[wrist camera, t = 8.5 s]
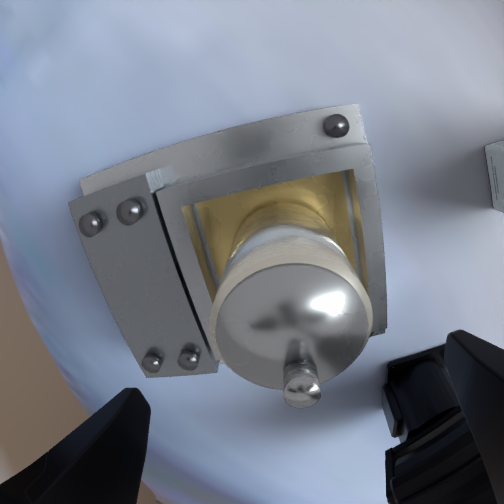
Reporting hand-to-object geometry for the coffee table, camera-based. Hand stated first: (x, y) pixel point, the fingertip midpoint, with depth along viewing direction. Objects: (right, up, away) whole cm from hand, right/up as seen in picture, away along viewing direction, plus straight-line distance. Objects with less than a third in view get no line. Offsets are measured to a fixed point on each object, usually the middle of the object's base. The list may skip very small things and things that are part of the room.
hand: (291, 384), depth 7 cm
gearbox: (-2, +4, +11) cm, 12 cm away
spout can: (+1, +3, +9) cm, 10 cm away
